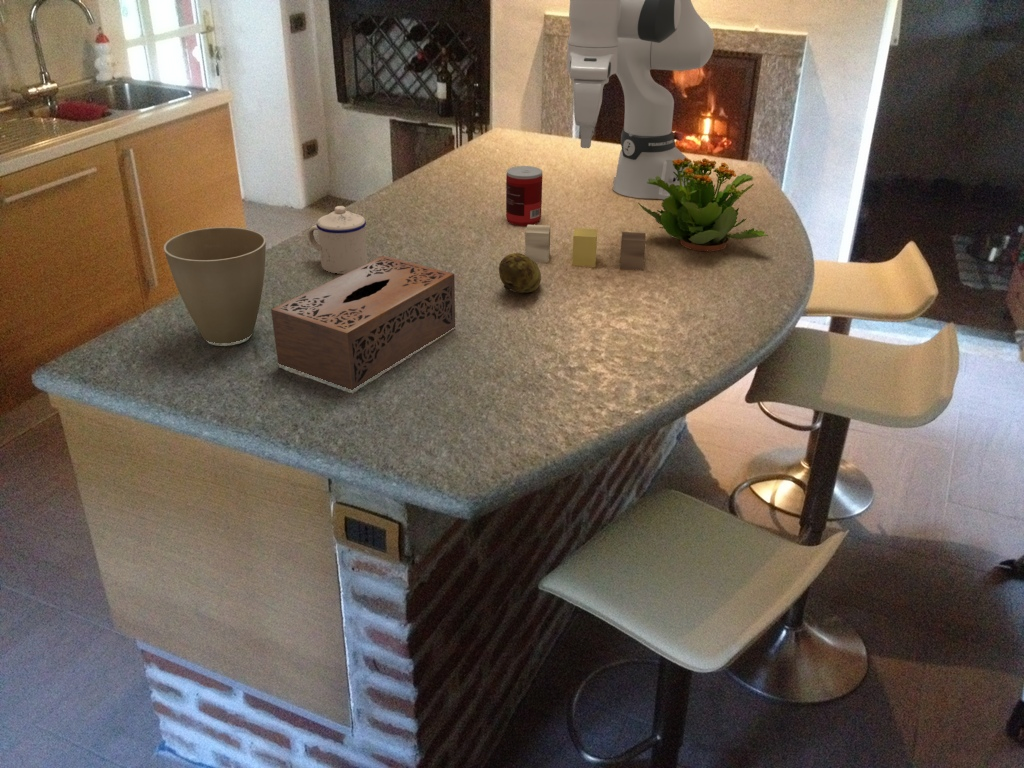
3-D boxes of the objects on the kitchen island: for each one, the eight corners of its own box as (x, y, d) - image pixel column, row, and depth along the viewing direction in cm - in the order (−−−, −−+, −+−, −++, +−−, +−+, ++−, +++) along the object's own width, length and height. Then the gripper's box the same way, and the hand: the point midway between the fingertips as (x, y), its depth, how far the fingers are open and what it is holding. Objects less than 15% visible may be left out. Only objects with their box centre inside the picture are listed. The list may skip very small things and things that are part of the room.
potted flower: (787, 246, 183) (802, 161, 175) (726, 277, 168) (739, 186, 160) (684, 217, 198) (693, 138, 190) (620, 244, 183) (626, 159, 174)
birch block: (527, 253, 178) (527, 224, 175) (549, 254, 178) (550, 225, 175) (524, 261, 174) (525, 232, 171) (547, 263, 174) (548, 233, 171)
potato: (557, 284, 164) (559, 242, 160) (524, 309, 155) (525, 265, 151) (518, 275, 168) (518, 234, 164) (483, 299, 158) (483, 256, 154)
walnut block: (619, 261, 175) (621, 231, 172) (642, 262, 175) (645, 232, 172) (619, 269, 171) (621, 239, 168) (643, 270, 171) (646, 240, 168)
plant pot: (226, 366, 135) (210, 268, 127) (161, 342, 142) (142, 247, 134) (297, 330, 146) (286, 237, 138) (232, 310, 153) (219, 220, 145)
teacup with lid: (377, 261, 173) (373, 203, 167) (353, 278, 166) (348, 217, 160) (324, 252, 177) (318, 195, 171) (298, 268, 169) (291, 209, 164)
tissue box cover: (386, 310, 154) (383, 255, 149) (455, 330, 147) (454, 273, 143) (278, 369, 135) (271, 309, 130) (352, 395, 128) (347, 333, 123)
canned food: (542, 215, 198) (543, 166, 193) (539, 227, 191) (541, 176, 186) (508, 213, 199) (508, 164, 194) (504, 225, 192) (504, 175, 187)
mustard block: (573, 257, 176) (574, 228, 174) (595, 258, 176) (597, 229, 173) (571, 265, 173) (573, 236, 170) (595, 266, 172) (597, 237, 169)
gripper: (578, 52, 167) (574, 128, 173) (569, 70, 149) (565, 153, 155) (612, 54, 166) (607, 129, 172) (607, 71, 148) (601, 155, 155)
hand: (587, 141), depth 164 cm, fingers open, 8 cm apart
